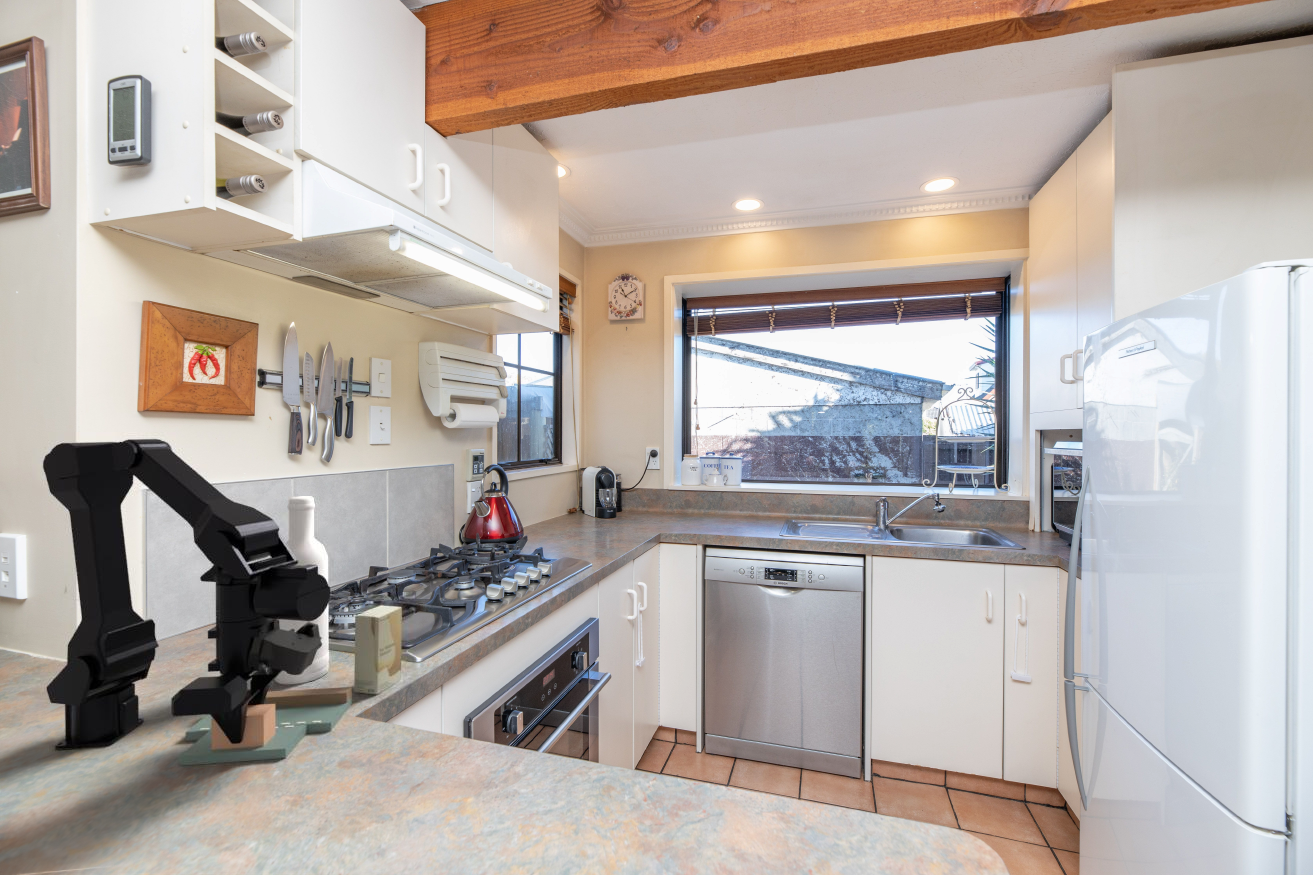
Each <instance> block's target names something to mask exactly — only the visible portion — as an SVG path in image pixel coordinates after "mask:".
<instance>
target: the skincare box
mask: <svg viewBox="0 0 1313 875" xmlns="http://www.w3.org/2000/svg"><path fill="white" fill-rule="evenodd" d="M402 609H403V607H401V606H391V605H381V604H380V605H378V606H376V607H374V608H371V609H368V610H366V611H364V612H361V613H360V614H356V615H355V617H354V618H355V619H354V621H355V622H354V624H355V625H354V678H353V679H354V682H353V686H354V690H353V692H354V693H359V694H366V695H368V694H369V695H379V694H381V693H382V692H384V691H385V690H387V689H389V688H390V687H392V686H393V685H395V684H396V683H398V682H400V681H401V680H402V621H403V618H402V615H403V614H402V613H403V612H402Z"/></svg>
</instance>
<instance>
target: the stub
mask: <svg viewBox="0 0 1313 875" xmlns="http://www.w3.org/2000/svg"><path fill="white" fill-rule="evenodd" d="M211 729H212V731H209V732H207V733H206V734H205V735H204V736H203V737H202V738H200V739H199V740H196V742H195V743H194V744H192V745H191V746H190V747H189V748H187V749H186V750H185V751H184V752H182V753H181V755H179V766H180V767H181V766H192V765H193V766H194V765H195V766H196V765H206V764H221V763H234V762H235V763H236V762H247V761H264V760H273V759H274V760H275V759H279V760H280V759H286V758H287V757H288V756H289V755H290V754H291V753H292V752H293V750H294V749H295V748H296V747H297V745H298V744H299V743H300V742H301V740H302V739H303V738H304V737H305V736H306V735H307V725H292V726H277V727H275V704H263V705H248V708H247V715H246V723H245V730H244V735H243V740H242V742H241V743H239V744H232V743H231V742H230V741H229V739H228V738H227V737H226V735H225V734H224V732H223V731H222V730H221V728H220V727H219V725H218V724H217V723H216V721H215V720H214V719H213V717H212V718H211Z"/></svg>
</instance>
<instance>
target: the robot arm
mask: <svg viewBox="0 0 1313 875" xmlns="http://www.w3.org/2000/svg"><path fill="white" fill-rule="evenodd" d="M42 468H43V472H44V475H45V478H46V481H47V485H48V490H49V493H50V494H51V495H52V496H53V497H54V498H55V499H56V500H57V501H58V502H59V503H60V504H61V505H62V506H64V507H65V509H67V510H68V513H69V519H70V527H71V535H72V536H71V538H72V546H73V553H74V562H75V572H76V580H77V586H78V588H77V589H78V598H79V606H80V613H81V616H80V617H81V620H80V623H79V624H78V626H77V628H76V629H75V631H74V633H73V635H72V637H71V638H70V640H69V642H68V643H67V653H66V654H67V657H66V660H67V661H66V665H65V666H64V667H63V668H62V670H60V671H59V673H58V674H57V675H56V676H55V677H54V678H53V679H52V680H51V682H50V683H49V684H48V685H47V686H46V691H47V695H48V699H49V702H50V703H51V704H57V705H64V728H65V729H64V732H65V733H64V734H65V737H64V738H63V739H62V740H60V741H59V742H57V743H56V744H55V745H54V750H62V749H63V750H65V749H78V748H80V749H81V748H93V747H94V748H95V747H108V746H110V745H111V746H112V745H113V744H115V743H116V742H118V741H119V740H120V739H121V738H123V737H124V736H126V735H127V734H129V733H130V732H131V731H133V730H135V729H136V728H137V727H139V726H140V725H142V724H143V723H144V722H145V721H144V718H142V717H140V716H139V715H140V714H139V712H140V711H139V708H140V707H139V695H138V694H136V682H138V681H142V680H144V679H147V678H148V675H149V672H150V669H151V665H152V663H153V661H154V660H155V657H156V650H157V649H156V648H159V646H160V645H159V643H158V641H157V638H156V623H155V621H154V620H153V619H152V618H149V619H144V618H143V617H141V616H140V614H138V613H137V612H136V611H135V610H134V608H133V601H132V593H131V592H132V591H131V583H130V574H129V566H128V559H127V549H126V543H125V542H126V540H125V532H124V522H123V517H122V516H123V515H122V504H123V502H124V500H125V499H126V497H127V495H128V493H129V492H130V491H131V488H132V487H133V486H134V477H135V478H136V479H138V480H139V481H140V483H142V484H143V485H144V486H145V487H147V489H149V490H150V491H151V492H152V493H153V494H154V495H156V496H157V497H158V498H159V499H161V501H163V502H164V503H165V504H166V505H167V506H168V507H169V508H171V509H172V510H173V511H174V512H175V513H177V514H178V516H180V517H181V518H182V519H183V520H184V521H186V522H187V523H188V525H190V527H191V528H192V530H193V532H192V534H193V542H194V544H195V545H196V546H197V548H198V549H199V550H200V552H202V554H203V555H204V556H205V557H206V558H207V559H208V561H209V562H210V563H211V564H212V566H211V567H210V568H209V569H208V570H207V571H206V572H204V573H203V574H202V575H200V577H199V579H200V581H201V582H205V583H206V582H208V583H215V626H214V627H212V628H210V629H209V630H207V639H208V640H213V639H214V640H215V659H213V660H212V661H210V662H208V663H207V673H211V672H219V674H220V675H219V676H202V677H201V676H199V677H197V678H195V679H194V680H193V681H191V682H190V683H188V684H187V685H185V686H184V687H182V688H181V689H179V690H178V691H177V692H176V693H175V694H174V695H173V696H172V697H171V701H170V702H171V706H170V707H171V708H170V709H171V715H172V716H173V717H185V716H187V717H189V716H203V715H205V716H206V715H208V714H210V715H211V716H212V717H213V719H214V720H215V721H216V723H217V724H218V725H219V727H220V728H221V730H222V731H223V732H224V734H225V735H226V737H227V738H228V739H229V741H230V742H231V743H232V744H239V743H241V742H242V740H243V735H244V730H245V723H246V715H247V708H248V705H263V704H264V701H265V698H266V695H267V692H269V689H270V687H271V683H272V682H273V681H275V678H276V677H277V676H278V675H279V674H280V673H281V672H282V671H286V672H287V674H290V675H300V674H302V673H303V672H304V670H305V669H306V668H307V667H308V666H310V665H311V664H312V662H313V660H314V657H315V655H316V652H317V650H318V649H319V648H320V647H321V646H322V642H321V638H322V637H320V635H319V627H318V625H317V624H314V623H310V622H307V623H306V624H305V625H303V626H302V627H301V628H300V629H299V630H298V631H297V632H294V630H295V629H291V630H290V631H286V630H282V629H280V626H279V619H283V620H298V621H313V620H315V619H317V618H318V617H320V616H321V614H322V613H323V612H324V611H325V609H326V607H327V605H328V606H329V602H330V598H331V586H329V581H328V582H327V580H326V579H325V578H324V577H323V576H322V575H320V574H318V566H317V565H311V564H309V565H304V566H300V565H297V564H298V560H297V558H296V557H295V555H294V554H293V551H292V550H291V549H290V548H289V546H288V545H287V543H286V542H287V541H286V540H285V538H284V537H283V536H282V534H281V532H280V527H279V525H278V524H277V522H276V521H275V520H274V519H273V518H271V517H270V516H268V515H266V514H265V513H263V512H261V511H260V510H258V509H256V508H255V507H253V506H249V505H245V504H243V503H239V502H236V501H233V500H232V499H229V498H228V497H227V496H225V494H223V493H222V492H221V491H219V490H218V489H217V488H216V487H215V486H213V485H212V484H211V483H210V482H208V481H207V479H205V478H204V477H203V476H202V475H201V474H199V472H197V471H196V470H195V469H193V467H192V466H190V465H189V464H188V463H186V462H185V461H184V460H183V459H182V458H181V457H179V456H178V455H177V454H176V453H175V452H174V451H173V449H172V446H171V445H170V444H169V443H168V442H167V441H164V440H162V439H158V438H143V439H142V438H137V439H136V438H135V439H133V438H132V439H129V438H128V439H125V440H122V441H96V442H94V441H91V442H62V443H59V444H56V445H55V446H54V447H53V448H52V449H51V450H50V452H49V453H47V454H46V455H45V456H44V458H43V461H42ZM268 557H269V558H268ZM253 561H254V562H253ZM250 562H251V563H250Z"/></svg>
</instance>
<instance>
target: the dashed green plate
mask: <svg viewBox="0 0 1313 875" xmlns="http://www.w3.org/2000/svg"><path fill="white" fill-rule="evenodd" d="M352 692H353V687H352V686H343V687H342V686H341V687H327V688H326V687H325V688H309V689H293V690H292V689H289V690H273V691H269V690H268V692H267V695H266V698H265V701H264V704H275V727H277V726H292V725H307V733H320V732H331V731H333V729H334V728H335V727H336V725H337V724H339V721H340V720H341V719H342V718H343V716H344V715H345V713H346V712H348V709H349V708H350V707H351V706H352V705H353V694H352ZM211 718H212V716H211V715H210V714H205V716H204V717H202V718H201V719H200V720H199V721H198V722H196V723H195V724H194V725H193V726H191V727H190V728H189V729H187V731H186V732H185V741H188V742H189V741H198V740H199V739H200V738H202V737H203V736H204V735H205V734H206V733H207V732H209V731H212V729H211ZM307 733H306V734H307Z"/></svg>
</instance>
